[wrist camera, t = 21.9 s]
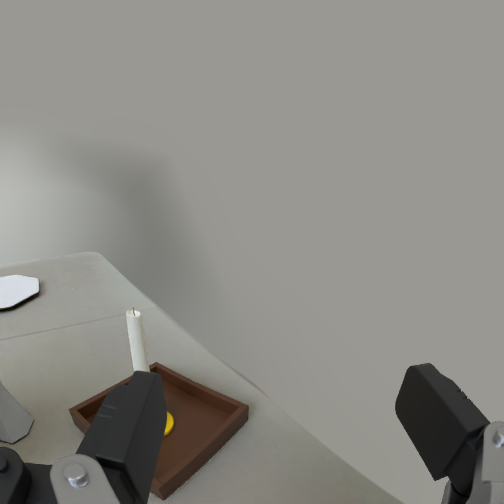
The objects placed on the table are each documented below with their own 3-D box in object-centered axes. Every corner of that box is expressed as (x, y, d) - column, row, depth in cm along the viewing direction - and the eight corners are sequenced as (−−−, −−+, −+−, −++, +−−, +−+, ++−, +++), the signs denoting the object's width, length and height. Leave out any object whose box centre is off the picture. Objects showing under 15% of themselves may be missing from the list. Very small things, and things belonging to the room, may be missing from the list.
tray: (158, 375, 40) (156, 361, 40) (248, 419, 33) (248, 405, 32) (74, 423, 27) (68, 409, 27) (163, 500, 20) (158, 488, 19)
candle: (173, 410, 33) (161, 296, 29) (174, 439, 28) (157, 319, 24) (133, 409, 32) (112, 296, 28) (129, 438, 27) (100, 318, 23)
